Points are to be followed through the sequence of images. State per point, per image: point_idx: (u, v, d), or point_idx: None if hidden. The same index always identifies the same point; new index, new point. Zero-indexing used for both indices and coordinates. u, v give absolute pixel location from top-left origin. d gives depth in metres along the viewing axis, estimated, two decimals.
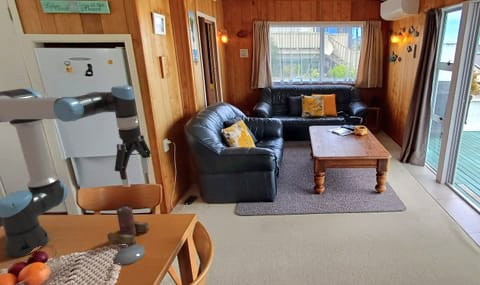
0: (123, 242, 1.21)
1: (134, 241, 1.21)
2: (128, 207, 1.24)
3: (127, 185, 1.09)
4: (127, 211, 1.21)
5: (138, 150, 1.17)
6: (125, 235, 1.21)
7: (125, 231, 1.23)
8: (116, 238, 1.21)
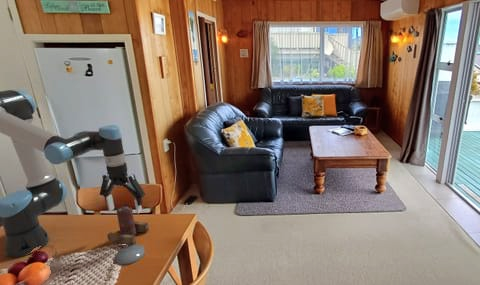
0: (123, 242, 1.21)
1: (134, 241, 1.21)
2: (128, 207, 1.24)
3: None
4: (127, 211, 1.21)
5: None
6: (125, 235, 1.21)
7: (125, 231, 1.23)
8: (116, 238, 1.21)
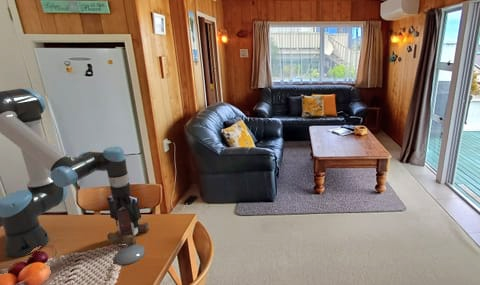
0: (123, 242, 1.21)
1: (134, 241, 1.21)
2: None
3: None
4: (127, 211, 1.21)
5: None
6: (125, 235, 1.21)
7: (125, 231, 1.23)
8: (116, 238, 1.21)
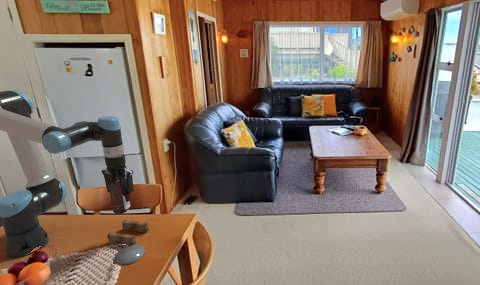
0: (123, 242, 1.21)
1: (134, 241, 1.21)
2: None
3: None
4: (119, 184, 1.18)
5: None
6: (125, 235, 1.21)
7: (116, 205, 1.20)
8: (116, 238, 1.21)
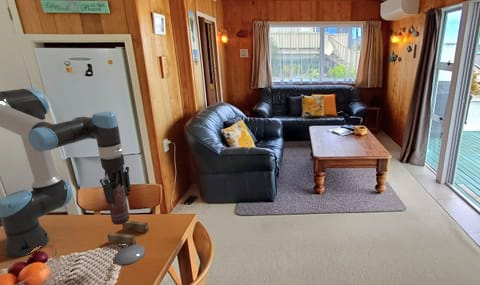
0: (123, 242, 1.21)
1: (134, 241, 1.21)
2: None
3: None
4: None
5: (119, 183, 1.08)
6: (125, 235, 1.21)
7: (127, 209, 1.08)
8: (116, 238, 1.21)
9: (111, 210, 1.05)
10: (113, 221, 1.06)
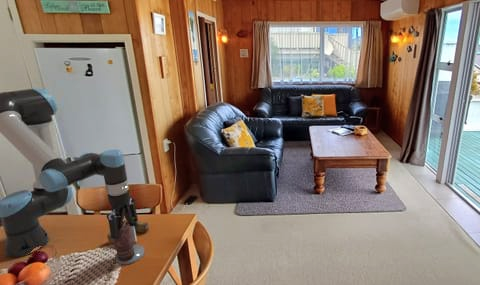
0: None
1: (134, 241, 1.21)
2: None
3: None
4: (127, 223, 1.11)
5: (126, 215, 1.12)
6: None
7: (132, 246, 1.11)
8: None
9: (117, 248, 1.08)
10: (119, 258, 1.10)
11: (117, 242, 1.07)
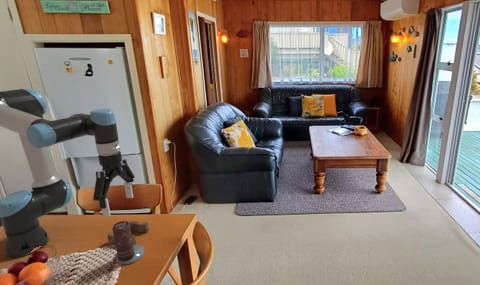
0: None
1: (134, 241, 1.21)
2: (119, 223, 1.10)
3: (107, 214, 1.03)
4: (128, 223, 1.11)
5: (120, 175, 1.11)
6: None
7: (132, 246, 1.11)
8: None
9: (117, 248, 1.09)
10: (119, 258, 1.10)
11: (117, 242, 1.08)
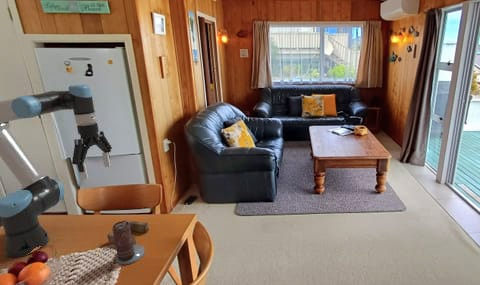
0: None
1: (134, 241, 1.21)
2: (119, 223, 1.10)
3: (85, 177, 1.17)
4: (128, 223, 1.11)
5: (98, 145, 1.24)
6: None
7: (132, 246, 1.11)
8: None
9: (117, 248, 1.09)
10: (119, 258, 1.10)
11: (117, 242, 1.08)
